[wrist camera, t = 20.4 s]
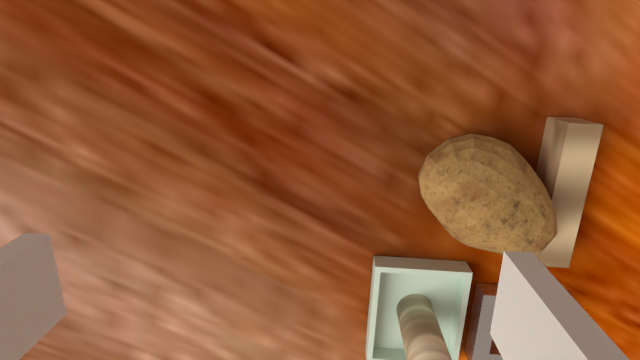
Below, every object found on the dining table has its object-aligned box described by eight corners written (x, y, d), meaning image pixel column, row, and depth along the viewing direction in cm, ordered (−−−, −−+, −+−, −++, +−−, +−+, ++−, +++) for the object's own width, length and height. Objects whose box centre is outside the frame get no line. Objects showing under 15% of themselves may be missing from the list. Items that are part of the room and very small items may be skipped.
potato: (491, 255, 45) (522, 296, 37) (389, 180, 43) (399, 207, 35) (558, 186, 42) (606, 215, 34) (452, 103, 40) (478, 115, 33)
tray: (373, 255, 45) (375, 266, 43) (465, 261, 45) (472, 272, 42) (365, 347, 49) (366, 362, 46) (450, 353, 48) (456, 368, 46)
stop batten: (547, 116, 40) (568, 122, 36) (578, 117, 40) (603, 124, 36) (520, 247, 44) (537, 265, 40) (549, 249, 44) (568, 267, 40)
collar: (476, 282, 46) (483, 295, 43) (559, 287, 45) (571, 300, 43) (464, 350, 48) (470, 366, 46) (542, 356, 48) (553, 371, 45)
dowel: (398, 292, 46) (422, 390, 32) (434, 295, 46) (473, 394, 32) (394, 323, 47) (415, 430, 33) (429, 326, 47) (465, 434, 33)
